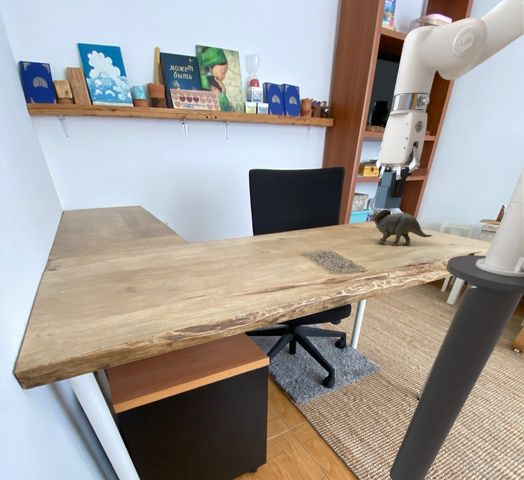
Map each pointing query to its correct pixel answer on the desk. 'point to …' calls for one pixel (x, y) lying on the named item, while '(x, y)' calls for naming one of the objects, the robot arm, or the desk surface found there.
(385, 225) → the toy dinosaur
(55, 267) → the desk surface
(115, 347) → the desk surface
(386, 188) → the slate gray tower
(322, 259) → the rug
